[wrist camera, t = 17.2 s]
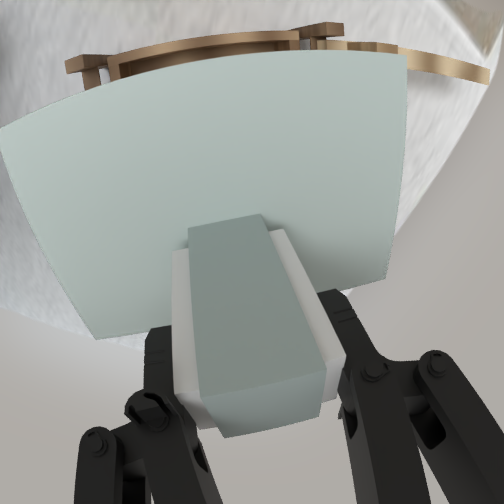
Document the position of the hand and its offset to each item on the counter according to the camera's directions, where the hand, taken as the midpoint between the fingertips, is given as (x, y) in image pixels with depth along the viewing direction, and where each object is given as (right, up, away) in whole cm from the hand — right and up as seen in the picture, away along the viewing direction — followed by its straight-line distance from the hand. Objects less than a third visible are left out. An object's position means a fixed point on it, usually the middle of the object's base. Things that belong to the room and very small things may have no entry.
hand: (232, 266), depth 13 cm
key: (+18, +21, +12) cm, 30 cm away
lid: (-1, +3, +1) cm, 3 cm away
